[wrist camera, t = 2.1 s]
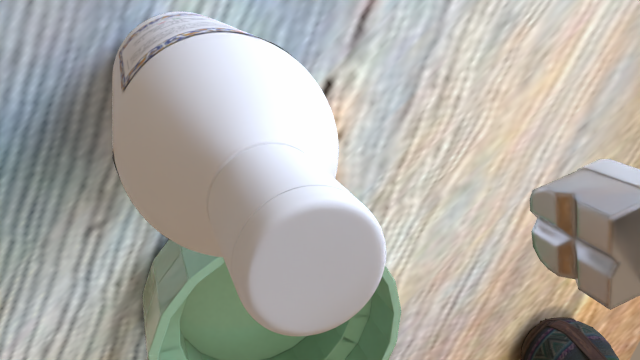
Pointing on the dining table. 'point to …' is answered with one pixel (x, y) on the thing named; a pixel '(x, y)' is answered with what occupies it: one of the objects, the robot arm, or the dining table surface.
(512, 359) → the dining table surface
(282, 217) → the bath foam
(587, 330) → the mate gourd
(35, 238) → the dining table surface
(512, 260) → the dining table surface
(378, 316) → the green pet bowl
